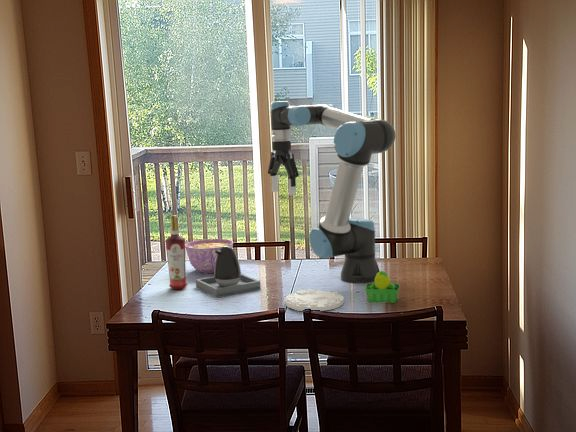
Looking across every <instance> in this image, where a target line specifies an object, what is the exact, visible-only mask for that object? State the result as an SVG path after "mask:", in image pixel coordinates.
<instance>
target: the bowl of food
mask: <svg viewBox="0 0 576 432" xmlns="http://www.w3.org/2000/svg"><path fill="white" fill-rule="evenodd" d="M233 245H234V241H233V240H231V239H226V238H206V239H198V240H197V239H196V240H193V241H189V242H187V243H186V242H185V252H186V254H187V257H188V260H189V263H190V265H191V266H192V267H193V269H195V270H197V271H200V272H201V273H204V274H212V273H213V274H214V267H215V262H216V258H217V253H215V251H216V250H217V251H219V250H220V249H221V248H222V247H223V246H230V247H231V248H232V249H233Z"/></svg>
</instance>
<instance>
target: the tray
mask: <svg viewBox="0 0 576 432" xmlns="http://www.w3.org/2000/svg"><path fill="white" fill-rule="evenodd" d="M195 287H196V288H197V289H198V290H201V291H203V292H205V293H207V294H209V295H210V296H211V295H212V296H213V297H214V298H222V297H227V296H230V295H231V296H232V295H236V294H237V295H238V294H241V293H246V292H252V291H253V292H254V291H257V290H261V280H259V279H255V278H254V277H251V276H248V275H246V274H243V273H241V277H240V281H239V282H238V284H237V285H233V286H228V287H222V286H220V285H218V283H217V282H216V280H215V278H214V276H208V277H203V278H198V279H195Z"/></svg>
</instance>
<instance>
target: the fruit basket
mask: <svg viewBox="0 0 576 432" xmlns="http://www.w3.org/2000/svg"><path fill="white" fill-rule="evenodd" d="M373 282H374V283H372V282H371V283H370V282H367V283H366V286H365V287H364V290H365V292H366V296H367V300H368V302H369V303H379V302H382V303H383V302H391V304H395V303H396V302H397V299H398V294H399V290H400V287H401V285H400V284H399V283H392V282H391V277H389V275H388V274H387V272H386V271H385V270H380V272H378V273H377V275H376V277H375V280H374V281H373Z"/></svg>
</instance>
